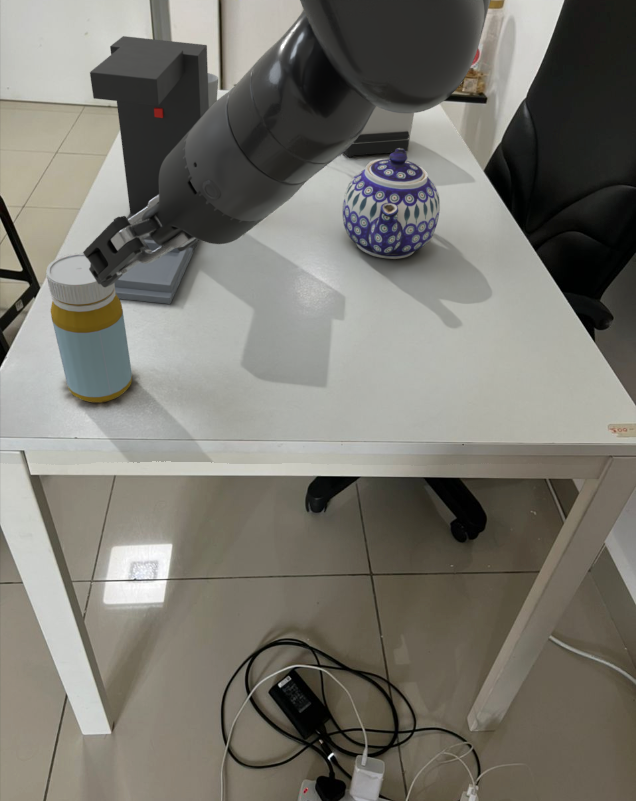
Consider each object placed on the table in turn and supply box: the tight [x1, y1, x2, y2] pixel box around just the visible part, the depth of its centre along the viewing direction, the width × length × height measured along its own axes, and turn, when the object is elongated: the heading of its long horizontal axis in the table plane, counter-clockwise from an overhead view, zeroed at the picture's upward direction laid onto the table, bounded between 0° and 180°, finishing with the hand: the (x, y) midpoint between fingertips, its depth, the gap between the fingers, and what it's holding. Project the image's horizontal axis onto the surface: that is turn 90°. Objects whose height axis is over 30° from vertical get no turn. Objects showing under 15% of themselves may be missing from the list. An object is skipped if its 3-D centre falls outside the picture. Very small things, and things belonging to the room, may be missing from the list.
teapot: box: [342, 148, 441, 260], centre depth 99 cm, size 25×15×15 cm, turn 167°
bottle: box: [45, 252, 133, 404], centre depth 68 cm, size 7×7×15 cm
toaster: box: [342, 106, 415, 158], centre depth 132 cm, size 23×25×17 cm
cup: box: [208, 72, 219, 108], centre depth 137 cm, size 8×10×8 cm
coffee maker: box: [89, 35, 209, 305], centre depth 89 cm, size 29×12×26 cm, turn 176°
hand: (139, 257), depth 56 cm, fingers open, 8 cm apart
